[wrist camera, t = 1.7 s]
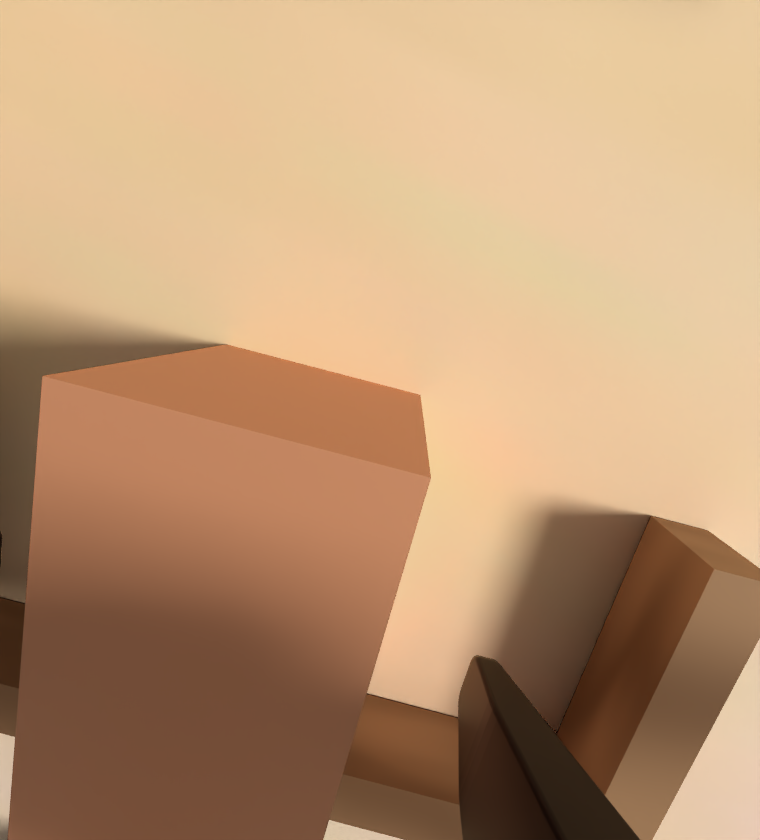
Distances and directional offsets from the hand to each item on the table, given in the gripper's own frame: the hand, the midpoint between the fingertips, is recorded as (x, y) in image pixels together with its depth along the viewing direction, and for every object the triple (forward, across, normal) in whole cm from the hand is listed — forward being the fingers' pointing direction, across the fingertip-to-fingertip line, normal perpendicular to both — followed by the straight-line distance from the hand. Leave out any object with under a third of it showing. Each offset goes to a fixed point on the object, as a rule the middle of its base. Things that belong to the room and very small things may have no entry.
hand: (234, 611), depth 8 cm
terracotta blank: (+4, 0, 0) cm, 4 cm away
